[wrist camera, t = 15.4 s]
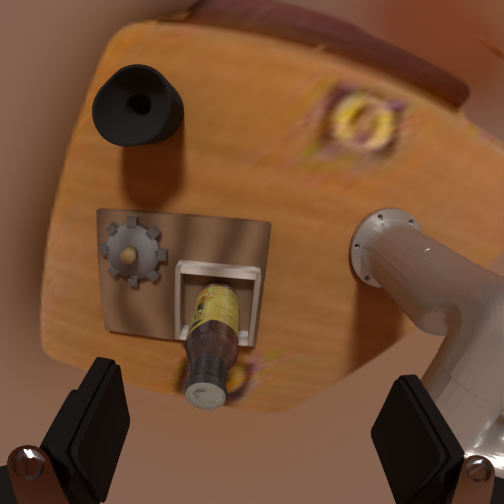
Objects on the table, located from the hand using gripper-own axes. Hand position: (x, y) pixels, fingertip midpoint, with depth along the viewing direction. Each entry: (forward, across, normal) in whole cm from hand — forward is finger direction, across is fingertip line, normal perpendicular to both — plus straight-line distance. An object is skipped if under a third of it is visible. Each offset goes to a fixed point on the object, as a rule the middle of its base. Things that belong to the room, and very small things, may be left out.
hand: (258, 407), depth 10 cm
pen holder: (+37, +14, -12) cm, 41 cm away
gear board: (+36, +9, +12) cm, 39 cm away
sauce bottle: (+35, +3, +14) cm, 38 cm away
